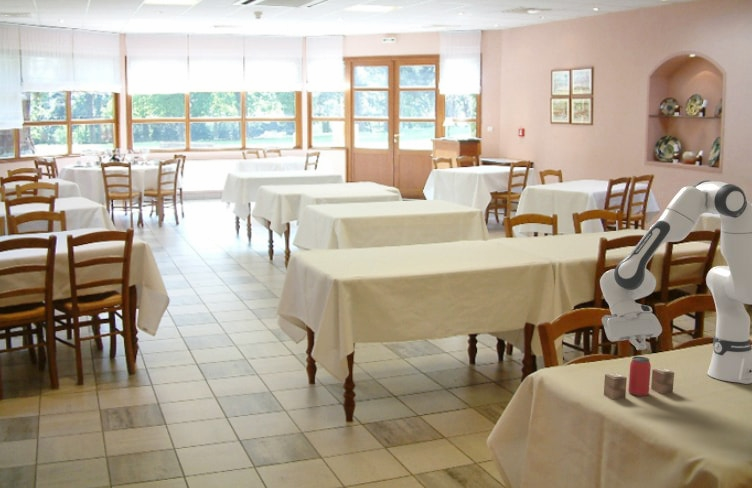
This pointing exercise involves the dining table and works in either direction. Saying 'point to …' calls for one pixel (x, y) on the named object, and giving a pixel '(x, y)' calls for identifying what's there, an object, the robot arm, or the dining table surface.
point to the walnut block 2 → (662, 380)
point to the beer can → (639, 376)
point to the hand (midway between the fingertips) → (642, 349)
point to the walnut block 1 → (615, 386)
